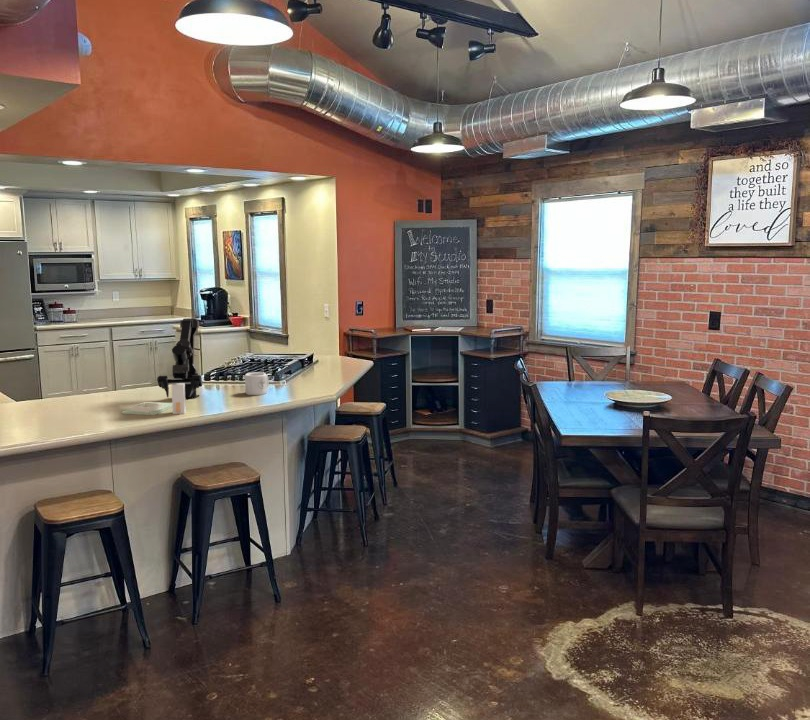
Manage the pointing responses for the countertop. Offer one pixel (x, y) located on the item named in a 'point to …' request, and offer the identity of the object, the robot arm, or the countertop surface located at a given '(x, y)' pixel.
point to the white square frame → (146, 407)
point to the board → (165, 406)
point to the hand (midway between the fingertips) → (178, 396)
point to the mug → (256, 383)
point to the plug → (178, 398)
